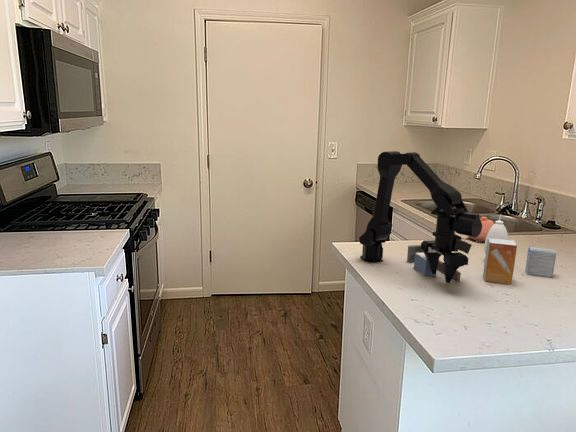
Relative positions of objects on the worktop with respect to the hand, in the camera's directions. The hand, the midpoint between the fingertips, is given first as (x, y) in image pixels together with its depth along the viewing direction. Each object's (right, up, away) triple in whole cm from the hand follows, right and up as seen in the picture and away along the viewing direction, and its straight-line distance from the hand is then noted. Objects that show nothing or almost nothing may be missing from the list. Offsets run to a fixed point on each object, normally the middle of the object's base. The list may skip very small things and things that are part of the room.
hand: (440, 278), depth 147 cm
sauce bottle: (+27, +3, +23) cm, 35 cm away
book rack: (+1, +1, +11) cm, 11 cm away
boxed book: (-2, +1, +10) cm, 11 cm away
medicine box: (+37, 0, +11) cm, 38 cm away
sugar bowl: (+34, +9, +53) cm, 64 cm away
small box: (+20, -1, +4) cm, 20 cm away
